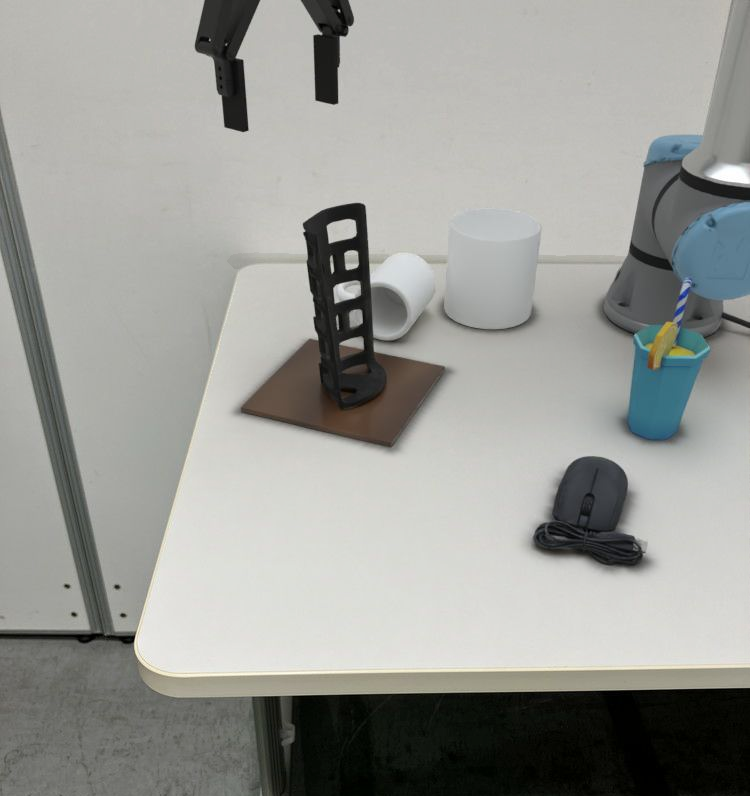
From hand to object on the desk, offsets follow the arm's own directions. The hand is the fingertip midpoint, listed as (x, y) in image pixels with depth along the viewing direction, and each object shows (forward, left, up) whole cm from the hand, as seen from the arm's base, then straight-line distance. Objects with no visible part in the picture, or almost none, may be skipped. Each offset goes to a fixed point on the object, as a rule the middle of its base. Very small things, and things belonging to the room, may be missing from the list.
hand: (283, 115), depth 96 cm
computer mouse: (-40, +17, -28) cm, 52 cm away
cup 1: (-18, -22, -28) cm, 40 cm away
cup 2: (-43, -2, -28) cm, 52 cm away
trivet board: (-9, +5, -28) cm, 30 cm away
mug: (-6, -13, -28) cm, 32 cm away
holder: (-9, +5, -28) cm, 30 cm away
